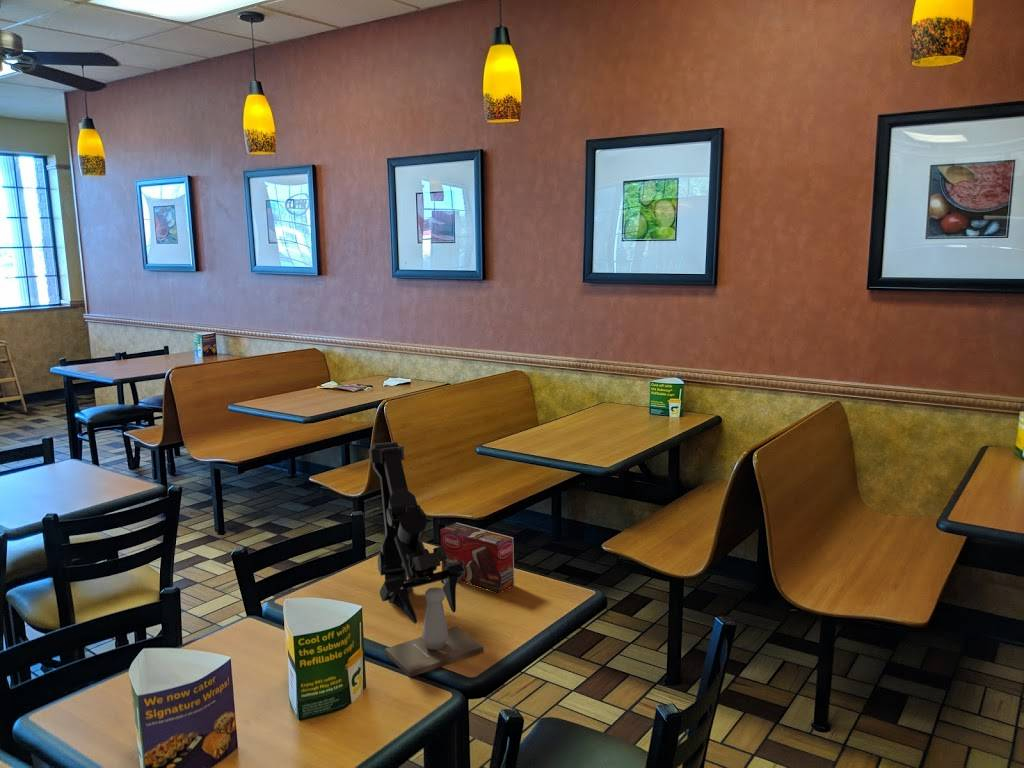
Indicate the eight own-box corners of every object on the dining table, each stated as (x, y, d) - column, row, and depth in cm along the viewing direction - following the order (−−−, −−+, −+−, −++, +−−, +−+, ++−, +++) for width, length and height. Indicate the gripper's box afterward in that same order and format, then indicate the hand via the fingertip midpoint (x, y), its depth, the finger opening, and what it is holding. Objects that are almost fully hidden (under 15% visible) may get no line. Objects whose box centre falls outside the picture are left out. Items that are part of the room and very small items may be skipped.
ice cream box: (514, 586, 205) (513, 537, 203) (499, 594, 200) (497, 545, 198) (457, 568, 217) (456, 522, 215) (442, 576, 212) (440, 529, 210)
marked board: (456, 630, 181) (456, 625, 181) (483, 651, 172) (483, 646, 171) (385, 653, 172) (384, 648, 171) (409, 677, 162) (409, 671, 162)
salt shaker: (442, 653, 168) (442, 596, 167) (418, 650, 170) (417, 593, 168) (452, 641, 174) (451, 586, 172) (428, 638, 176) (427, 583, 174)
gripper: (381, 545, 166) (404, 613, 158) (460, 527, 175) (485, 591, 168) (370, 567, 174) (391, 633, 166) (446, 549, 183) (469, 611, 176)
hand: (435, 617), depth 169 cm, fingers open, 9 cm apart
